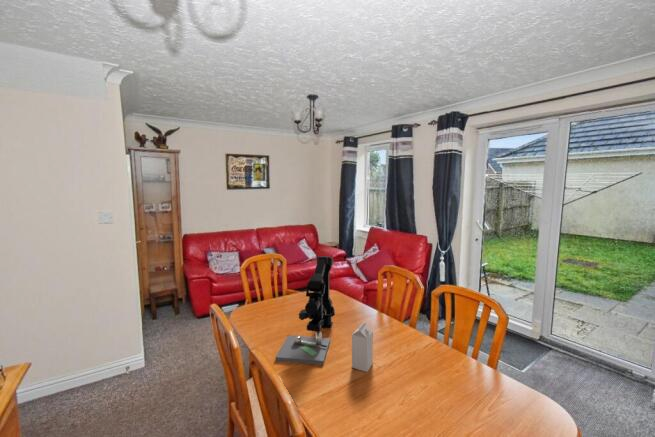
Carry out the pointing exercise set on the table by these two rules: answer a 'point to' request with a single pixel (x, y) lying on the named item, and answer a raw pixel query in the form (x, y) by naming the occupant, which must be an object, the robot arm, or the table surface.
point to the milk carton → (362, 348)
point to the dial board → (303, 351)
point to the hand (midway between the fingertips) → (317, 335)
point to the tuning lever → (318, 342)
